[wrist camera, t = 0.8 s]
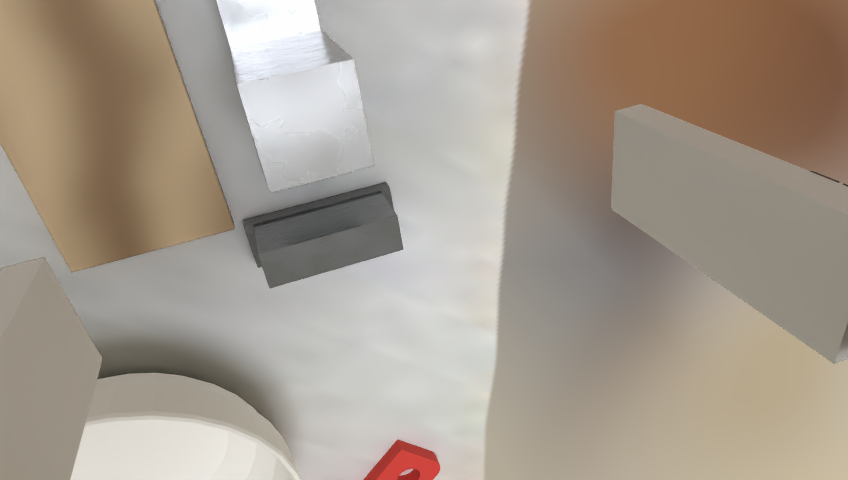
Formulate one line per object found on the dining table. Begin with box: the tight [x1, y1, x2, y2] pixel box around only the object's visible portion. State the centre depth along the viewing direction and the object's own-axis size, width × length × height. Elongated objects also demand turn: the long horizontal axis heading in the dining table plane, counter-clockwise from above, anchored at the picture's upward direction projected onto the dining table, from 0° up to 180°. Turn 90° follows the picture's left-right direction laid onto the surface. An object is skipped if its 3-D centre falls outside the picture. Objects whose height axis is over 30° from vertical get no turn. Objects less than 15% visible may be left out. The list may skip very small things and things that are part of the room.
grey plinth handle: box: [243, 183, 403, 288], centre depth 26 cm, size 8×19×4 cm, turn 8°
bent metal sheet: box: [216, 0, 374, 192], centre depth 24 cm, size 4×10×9 cm, turn 8°
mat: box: [0, 0, 235, 272], centre depth 25 cm, size 8×14×1 cm, turn 8°
